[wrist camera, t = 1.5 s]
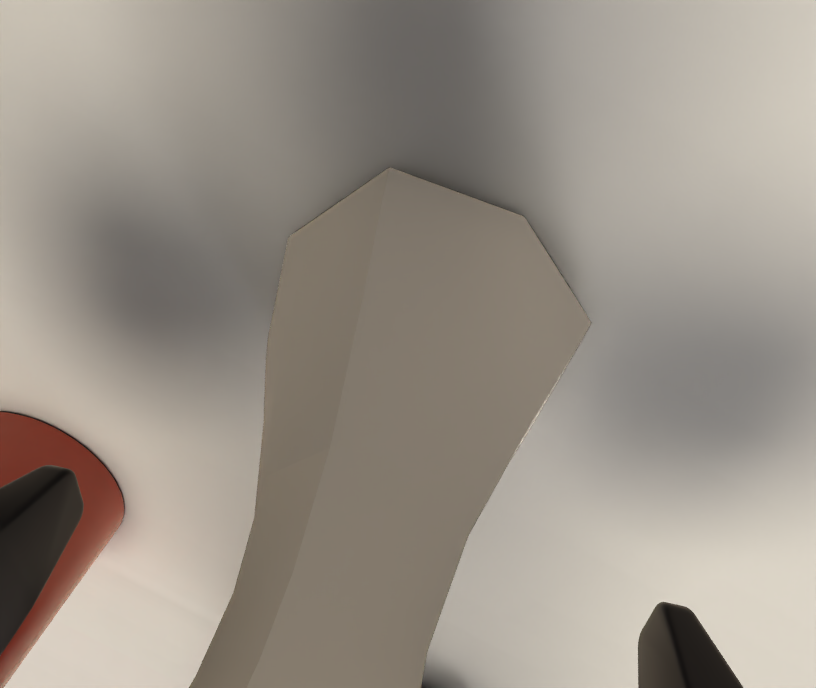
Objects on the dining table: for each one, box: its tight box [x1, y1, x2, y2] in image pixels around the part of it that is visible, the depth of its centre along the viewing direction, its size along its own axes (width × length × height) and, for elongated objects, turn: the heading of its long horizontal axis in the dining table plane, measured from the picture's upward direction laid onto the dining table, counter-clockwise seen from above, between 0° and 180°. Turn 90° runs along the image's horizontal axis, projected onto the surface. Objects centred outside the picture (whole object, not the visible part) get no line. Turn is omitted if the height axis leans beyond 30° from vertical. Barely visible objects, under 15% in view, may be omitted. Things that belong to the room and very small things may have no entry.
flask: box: [189, 167, 591, 688], centre depth 10 cm, size 7×7×10 cm
